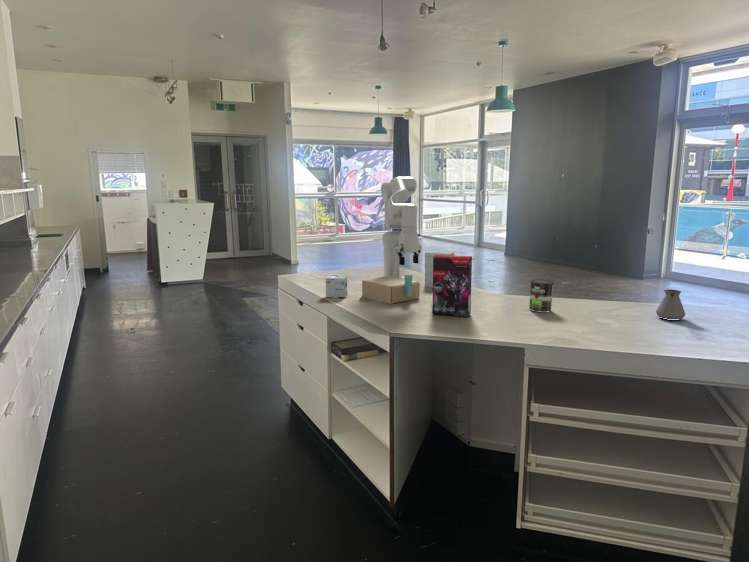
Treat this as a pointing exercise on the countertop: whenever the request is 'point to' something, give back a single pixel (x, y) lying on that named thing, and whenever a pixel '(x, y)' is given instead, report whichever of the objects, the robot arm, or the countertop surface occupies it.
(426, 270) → the hard drive box
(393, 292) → the drawer with teal handle
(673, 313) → the coffee pot
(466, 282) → the graphics card box
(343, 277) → the light bulb box
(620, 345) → the countertop surface
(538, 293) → the coffee can
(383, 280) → the sleeve
